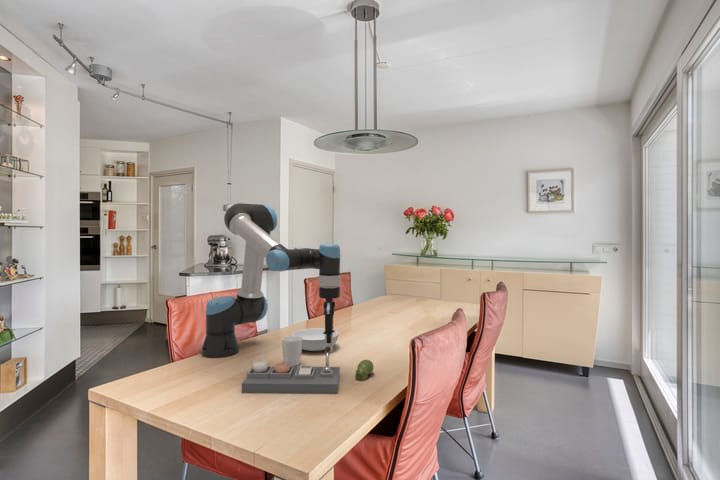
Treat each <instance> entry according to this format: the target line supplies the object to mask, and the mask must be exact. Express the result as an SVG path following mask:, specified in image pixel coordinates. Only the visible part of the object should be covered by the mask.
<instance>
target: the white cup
mask: <svg viewBox="0 0 720 480" xmlns="http://www.w3.org/2000/svg"><path fill="white" fill-rule="evenodd" d="M281 346H282V347H281V349H282V358H283V360H282V361H283V363H282V364H289V366H294V367H297V366H298V365H299V366H300V364H302V363H301V362H302V361H301V358H302V351H303V349H302V337H300V336H292V335H286V336H283V337H282V338H281Z"/></svg>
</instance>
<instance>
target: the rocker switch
mask: <svg viewBox="0 0 720 480" xmlns="http://www.w3.org/2000/svg"><path fill="white" fill-rule="evenodd" d="M299 367H300V370H299V373H298V375H311V370H312V367H313V366H312V365H299Z"/></svg>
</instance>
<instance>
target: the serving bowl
mask: <svg viewBox="0 0 720 480" xmlns="http://www.w3.org/2000/svg"><path fill="white" fill-rule="evenodd" d="M323 332H325V327H324V328H323V327H322V328H321V327H311V328H303V329H298V330H295V331H293V332H292V334H291V336H300V337H302V351H308V352H321V351H325V334H323ZM338 339H339V332H338V331H337V330H335V332H333V346H335V344H336V343H337V342H338Z"/></svg>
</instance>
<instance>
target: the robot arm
mask: <svg viewBox="0 0 720 480" xmlns="http://www.w3.org/2000/svg"><path fill="white" fill-rule="evenodd" d="M223 221H224V225H225V226H226V228H227V229H228V230H229V231H230V232H231V233H232V234H233V235H236V236H239V237H240V238H241V239H243V240H244V241H245V246H244V247H245V249H244V256H243V257H244V258H243V267H242V276H241V286H240V289H239V290H238V291H237V292H236V297H235V296H233V295H225V296H223V295H222V296H217V297H215V298H212V299H210V300H208V301H207V303H206V305H205V332H206V333H205V338H204V341H203V344H202V347H201V355H202V356H203V357H204V358H226V357H230V356H234V355H235V354H237V353H239V351H240V345H239V342H238V339H237V335H236V333H235V332H236V331H235V330H236V326H240V325H244V324H250V323H256V322H259V321H261V320H263V319H264V318H265V316H266V314H267V313H268V312H267V311H268V308H269V307H268V303H267V301H268V300H267V298H266V297H265V296H264V293H263V292H262V290H261V289H262V280H263V272H264V261H265V263H266V266H267V268H268V269H269V270H270V272H285V271H297V270H307V269H308V270H309V269H311V270H312V269H314V270H318V271H319V273H318V274H319V275H318V286H319V287H318V297H319V298H320V299H325V301H323V311H324V312H323V314H324V328H325V332H323V334H325V348H326V347H327V346H329V347H330V348H331V350H330V352H329V353H331V352H332V353H333V351H334V348H333V347H334V345H333V332H335V331H336V329H334V316H335V315H334V314H335V307H336V302H335V301H334V299H338V298H340V296H341V295H340V294H341V291H340V290H341V288H340V287H339V286H340V285H341V284H340V283H341V281H342V277H340V276H341V247H340V245H339V244H337V243H336V244H335V243H322V244H320V245H319V248H310V247H307V248H306V247H304V248H294V249H293V248H290V249H289V248H287V247H286V246H284V245H283V244H282V243H280V242H279V241H278V240H276V239H275V238H274V236H272V235H271V232H273V231H275V230H276V228H277V227H278V216H277V213H276V210H275V209H274V208H273V207H272V206H270V205H267V204H261V203H260V204H259V203H258V204H257V203H243V202H240V203H235V204H233V205H230V206H229V207H228V208H227V210H226V211H225V214H224V217H223ZM324 352H325V353H326V351H325V350H324Z"/></svg>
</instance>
